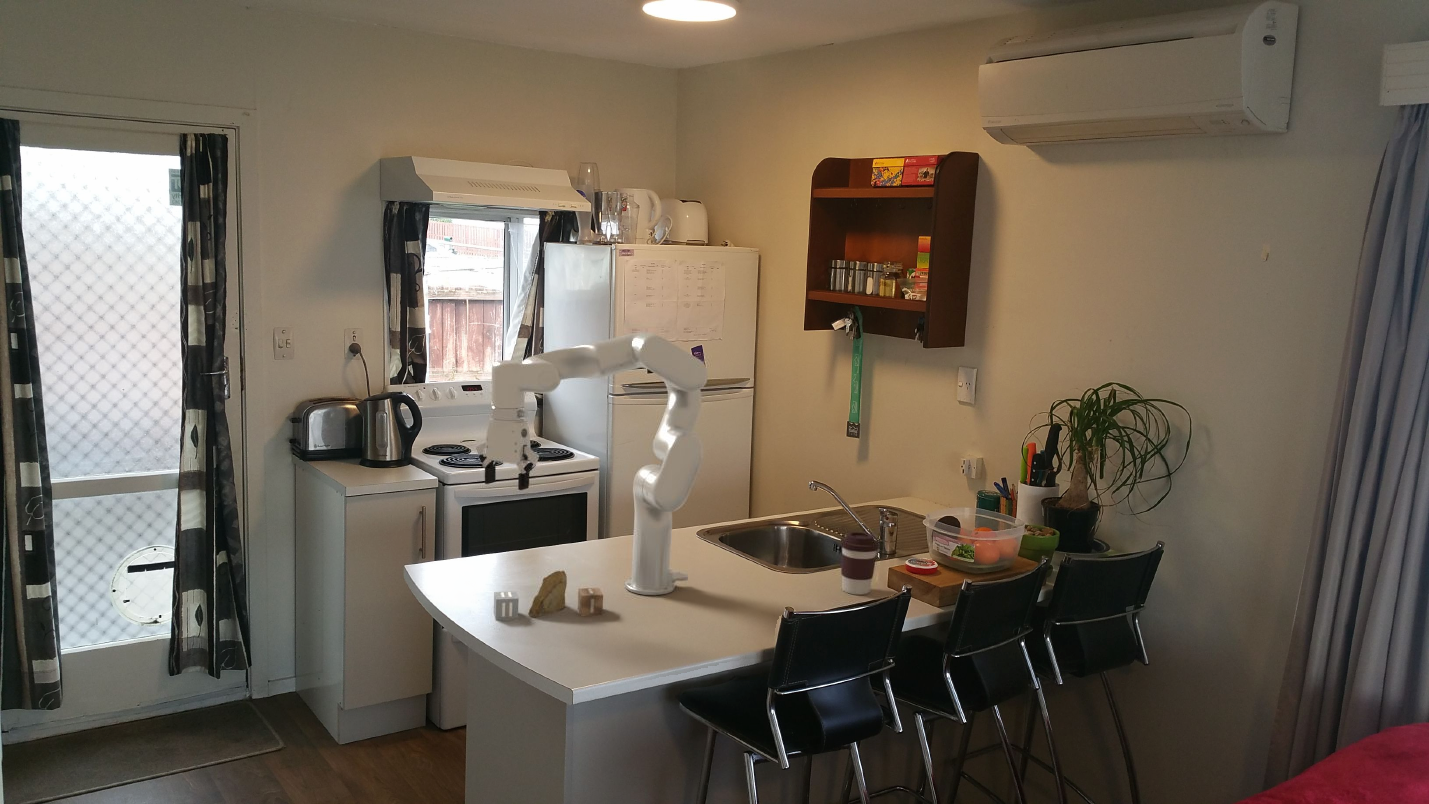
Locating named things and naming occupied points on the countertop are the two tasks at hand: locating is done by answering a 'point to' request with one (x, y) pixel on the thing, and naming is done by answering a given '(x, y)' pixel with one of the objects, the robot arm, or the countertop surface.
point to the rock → (550, 595)
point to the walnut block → (590, 601)
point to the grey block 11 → (506, 605)
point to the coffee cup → (858, 562)
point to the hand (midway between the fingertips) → (506, 486)
